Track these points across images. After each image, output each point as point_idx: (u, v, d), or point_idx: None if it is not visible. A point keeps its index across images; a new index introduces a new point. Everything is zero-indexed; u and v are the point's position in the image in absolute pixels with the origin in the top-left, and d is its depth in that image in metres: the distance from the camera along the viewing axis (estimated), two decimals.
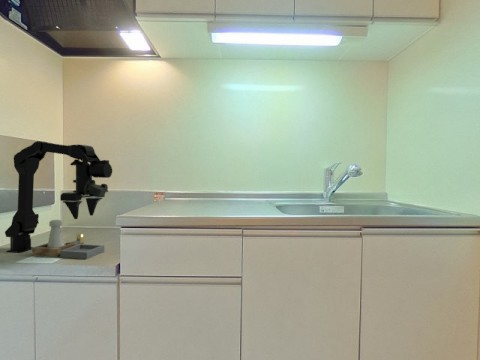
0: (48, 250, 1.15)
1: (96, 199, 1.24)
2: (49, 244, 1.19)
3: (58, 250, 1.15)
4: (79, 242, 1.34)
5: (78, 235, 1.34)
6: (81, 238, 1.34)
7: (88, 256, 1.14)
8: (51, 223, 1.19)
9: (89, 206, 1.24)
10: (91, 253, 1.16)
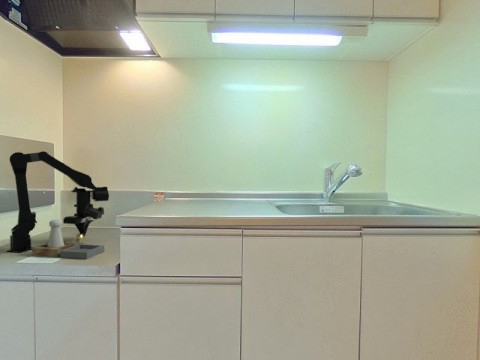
0: (48, 250, 1.15)
1: (88, 221, 1.38)
2: (49, 244, 1.19)
3: (58, 250, 1.15)
4: (78, 242, 1.33)
5: (77, 235, 1.34)
6: (80, 238, 1.34)
7: (88, 256, 1.14)
8: (51, 223, 1.19)
9: None
10: (91, 253, 1.16)
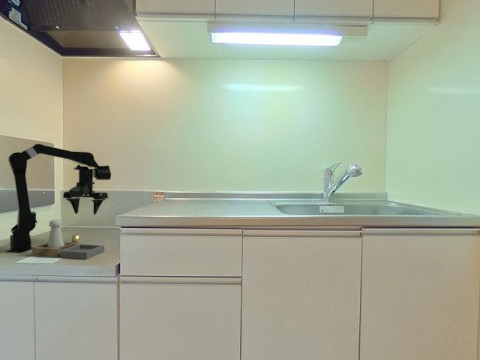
0: (48, 250, 1.15)
1: None
2: (49, 244, 1.19)
3: (58, 250, 1.15)
4: None
5: (73, 236, 1.31)
6: (76, 240, 1.31)
7: (88, 256, 1.14)
8: (51, 223, 1.19)
9: None
10: (91, 253, 1.16)
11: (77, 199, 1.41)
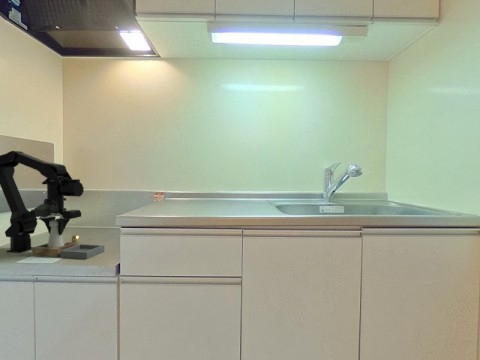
0: (48, 250, 1.15)
1: None
2: (49, 244, 1.19)
3: (58, 250, 1.15)
4: None
5: (73, 236, 1.31)
6: (76, 240, 1.31)
7: (88, 256, 1.14)
8: (51, 223, 1.19)
9: None
10: (91, 253, 1.16)
11: (52, 218, 1.22)
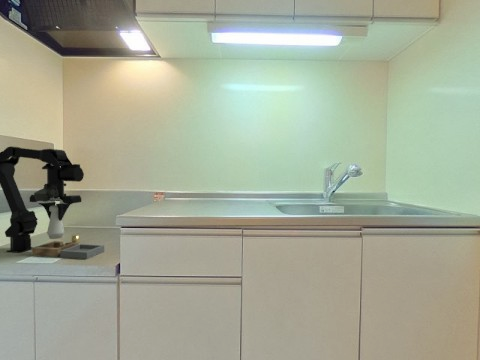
0: (48, 250, 1.15)
1: None
2: (49, 229, 1.18)
3: (58, 250, 1.15)
4: None
5: (73, 236, 1.31)
6: (76, 240, 1.31)
7: (88, 256, 1.14)
8: (51, 208, 1.19)
9: None
10: (91, 253, 1.16)
11: (52, 203, 1.22)
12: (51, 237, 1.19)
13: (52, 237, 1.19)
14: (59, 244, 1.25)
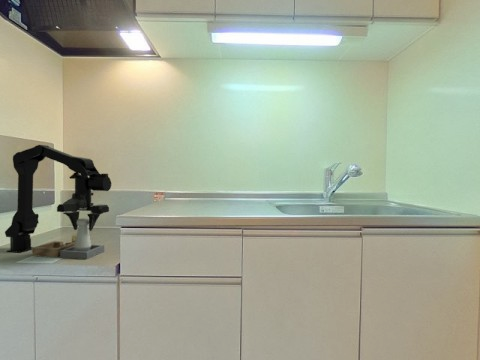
0: (48, 250, 1.15)
1: None
2: (77, 243, 1.17)
3: (58, 250, 1.15)
4: None
5: (73, 236, 1.31)
6: None
7: (88, 256, 1.14)
8: (79, 222, 1.17)
9: None
10: (91, 253, 1.16)
11: (76, 213, 1.21)
12: None
13: None
14: (59, 244, 1.25)
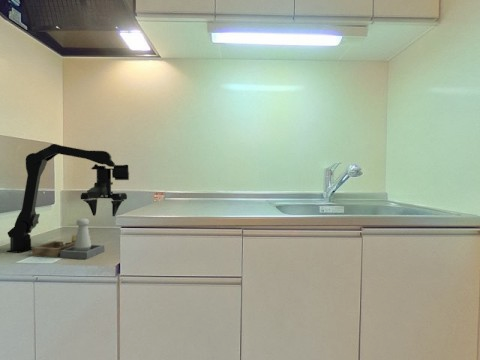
0: (48, 250, 1.15)
1: None
2: (77, 243, 1.17)
3: (58, 250, 1.15)
4: None
5: (73, 236, 1.31)
6: None
7: (88, 256, 1.14)
8: (79, 222, 1.17)
9: None
10: (91, 253, 1.16)
11: (95, 200, 1.34)
12: None
13: None
14: (59, 244, 1.25)
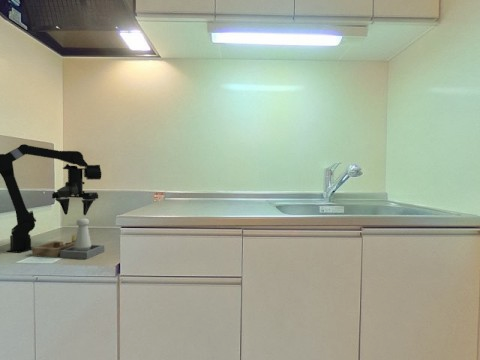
0: (48, 250, 1.15)
1: None
2: (77, 243, 1.17)
3: (58, 250, 1.15)
4: None
5: (73, 236, 1.31)
6: None
7: (88, 256, 1.14)
8: (79, 222, 1.17)
9: None
10: (91, 253, 1.16)
11: (67, 199, 1.37)
12: None
13: None
14: (59, 244, 1.25)
